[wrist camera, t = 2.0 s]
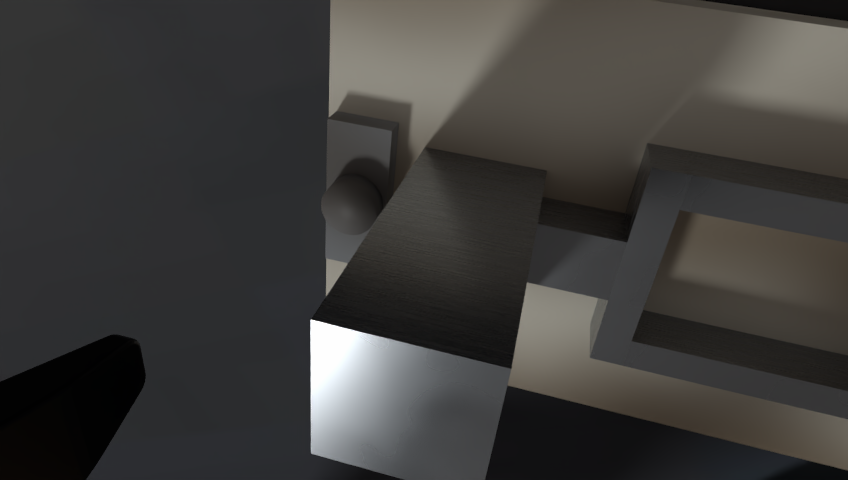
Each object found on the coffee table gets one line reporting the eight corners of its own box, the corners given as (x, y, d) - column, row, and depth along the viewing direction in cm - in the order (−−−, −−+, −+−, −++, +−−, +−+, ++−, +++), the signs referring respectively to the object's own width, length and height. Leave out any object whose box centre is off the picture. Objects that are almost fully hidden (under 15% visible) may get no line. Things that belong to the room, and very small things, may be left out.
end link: (917, 398, 15) (1122, 730, 9) (410, 282, 17) (310, 493, 11) (1053, 216, 12) (1472, 523, 6) (429, 103, 14) (311, 258, 8)
